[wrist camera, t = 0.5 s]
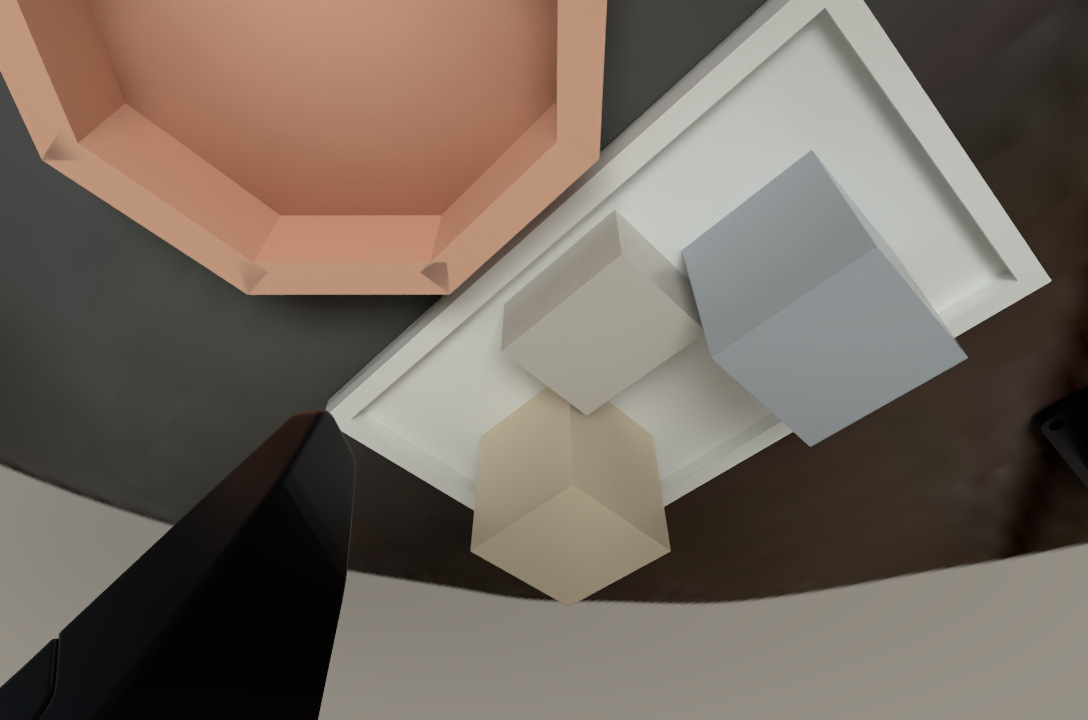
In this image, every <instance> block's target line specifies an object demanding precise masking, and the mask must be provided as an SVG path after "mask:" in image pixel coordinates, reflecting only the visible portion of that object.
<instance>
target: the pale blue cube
mask: <svg viewBox="0 0 1088 720" xmlns="http://www.w3.org/2000/svg"><path fill="white" fill-rule="evenodd" d="M682 253H683V256H684V260H685V264H686V267H687V271H688V275H689V278H690V282H691V286H692V289H693V293H694V297H695V300H696V304H697V307H698V311H699V315H700V318H701V322H702V326H703V329H704V333H705V337H706V340H707V344H708V348H709V351H710V355H711V358H712V359H713V360H714V361H715V362H716V363H717V364H719V365H720V366H721V367H722V368H723V369H724V370H725V371H726V372H727V373H729V374H730V375H731V376H732V377H733V378H734V379H735V380H736V381H737V382H739V383H740V384H741V385H742V386H743V387H744V388H745V389H746V390H748V391H749V392H750V393H751V394H752V395H753V396H754V397H755V398H756V399H758V400H759V401H760V402H761V403H762V404H763V405H764V406H765V407H766V408H768V409H769V410H770V411H771V412H772V413H773V414H774V415H775V416H776V417H778V418H779V419H780V420H781V421H782V422H783V423H784V424H785V425H786V426H788V427H789V428H790V429H791V430H792V431H793V432H794V433H795V434H796V435H798V436H799V437H800V438H801V439H802V440H803V441H804V442H805V443H806V444H808V445H809V446H810V447H811V446H813V445H814V444H816V443H818V442H820V441H822V440H823V439H825V438H827V437H829V436H830V435H832V434H834V433H836V432H838V431H839V430H841V429H843V428H845V427H846V426H848V425H850V424H852V423H853V422H855V421H857V420H859V419H861V418H862V417H864V416H866V415H868V414H869V413H871V412H873V411H875V410H877V409H878V408H880V407H882V406H884V405H885V404H887V403H889V402H891V401H892V400H894V399H896V398H898V397H900V396H901V395H903V394H905V393H907V392H908V391H910V390H912V389H914V388H916V387H917V386H919V385H921V384H923V383H924V382H926V381H928V380H930V379H931V378H933V377H935V376H937V375H939V374H940V373H942V372H944V371H946V370H947V369H949V368H951V367H953V366H955V365H956V364H958V363H960V362H962V361H963V360H965V359H967V358H968V357H967V355H966V354H965V352H964V351H963V349H962V348H961V347H960V345H959V344H958V342H957V341H956V339H955V338H954V337H953V335H952V334H951V332H950V331H949V329H948V328H947V327H946V325H945V324H944V322H943V321H942V319H941V318H940V317H939V315H938V314H937V312H936V311H935V309H934V308H933V307H932V305H931V304H930V302H929V301H928V299H927V298H926V297H925V295H924V294H923V292H922V291H921V289H920V288H919V287H918V285H917V284H916V282H915V281H914V279H913V278H912V276H911V275H910V274H909V272H908V271H907V269H906V268H905V266H904V265H903V264H902V262H901V261H900V259H899V258H898V256H897V255H896V254H895V252H894V251H893V249H892V248H891V247H890V246H889V244H888V243H887V242H886V241H885V239H884V238H883V237H882V236H881V235H880V233H879V232H878V231H877V230H876V228H875V227H874V226H873V225H872V223H871V222H870V221H869V220H868V218H867V217H866V216H865V215H864V214H863V212H862V211H861V210H860V209H859V207H858V206H857V205H856V204H855V202H854V201H853V200H852V199H851V197H850V196H849V195H848V194H847V193H846V191H845V190H844V189H843V188H842V186H841V185H840V184H839V183H838V181H837V180H836V179H835V178H834V176H833V175H832V174H831V173H830V172H829V170H828V169H827V168H826V167H825V165H824V164H823V163H822V162H821V160H820V159H819V158H818V157H817V155H816V154H815V153H814V152H813V151H812V150H810V151H809V152H808V153H807V154H805V155H804V156H803V157H801V158H800V159H799V160H797V161H796V162H795V163H794V164H792V165H791V166H790V167H788V168H787V169H786V170H785V171H783V172H782V173H781V174H779V175H778V176H777V177H776V178H774V179H773V180H772V181H770V182H769V183H768V184H767V185H765V186H764V187H763V188H761V189H760V190H759V191H758V192H756V193H755V194H754V195H752V196H751V197H750V198H748V199H747V200H746V201H745V202H743V203H742V204H741V205H739V206H738V207H737V208H736V209H734V210H733V211H732V212H730V213H729V214H728V215H727V216H725V217H724V218H723V219H721V220H720V221H719V222H718V223H716V224H715V225H714V226H712V227H711V228H710V229H708V230H707V231H706V232H705V233H703V234H702V235H701V236H699V237H698V238H697V239H696V240H694V241H693V242H692V243H690V244H689V245H688V246H687V247H685V248H684V249H683V250H682Z"/></svg>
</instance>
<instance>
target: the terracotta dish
mask: <svg viewBox="0 0 1088 720" xmlns="http://www.w3.org/2000/svg"><path fill="white" fill-rule="evenodd" d="M606 13H607V0H0V71H1V73H2V75H3V77H4V80H5V82H6V84H7V86H8V88H9V90H10V92H11V95H12V97H13V99H14V101H15V103H16V105H17V107H18V110H19V112H20V114H21V116H22V118H23V120H24V122H25V125H26V127H27V129H28V131H29V133H30V135H31V137H32V140H33V142H34V144H35V146H36V148H37V150H38V152H39V155H40V157H41V159H42V160H43V161H44V162H46V163H47V164H49V165H50V166H52V167H53V168H55V169H56V170H58V171H59V172H61V173H63V174H64V175H66V176H67V177H69V178H70V179H72V180H73V181H75V182H76V183H78V184H79V185H81V186H82V187H84V188H85V189H87V190H88V191H90V192H92V193H93V194H95V195H96V196H98V197H99V198H101V199H102V200H104V201H105V202H107V203H108V204H110V205H111V206H113V207H114V208H116V209H117V210H119V211H121V212H122V213H124V214H125V215H127V216H128V217H130V218H131V219H133V220H134V221H136V222H137V223H139V224H140V225H142V226H143V227H145V228H147V229H148V230H150V231H151V232H153V233H154V234H156V235H157V236H159V237H160V238H162V239H163V240H165V241H166V242H168V243H169V244H171V245H172V246H174V247H176V248H177V249H179V250H180V251H182V252H183V253H185V254H186V255H188V256H189V257H191V258H192V259H194V260H195V261H197V262H198V263H200V264H201V265H203V266H205V267H206V268H208V269H209V270H211V271H212V272H214V273H215V274H217V275H218V276H220V277H221V278H223V279H224V280H226V281H227V282H229V283H230V284H232V285H234V286H235V287H237V288H238V289H240V290H241V291H243V292H244V293H246V294H247V295H450V294H451V293H452V292H453V291H454V290H455V289H456V288H458V287H459V286H460V285H461V284H462V283H463V282H464V281H465V280H466V279H468V278H469V277H470V276H471V275H472V274H473V273H474V272H475V271H476V270H477V269H479V268H480V267H481V266H482V265H483V264H484V263H485V262H486V261H487V260H489V259H490V258H491V257H492V256H493V255H494V254H495V253H496V252H497V251H498V250H500V249H501V248H502V247H503V246H504V245H505V244H506V243H507V242H508V241H510V240H511V239H512V238H513V237H514V236H515V235H516V234H517V233H518V232H519V231H521V230H522V229H523V228H524V227H525V226H526V225H527V224H528V223H529V222H531V221H532V220H533V219H534V218H535V217H536V216H537V215H538V214H539V213H540V212H542V211H543V210H544V209H545V208H546V207H547V206H548V205H549V204H550V203H551V202H553V201H554V200H555V199H556V198H557V197H558V196H559V195H560V194H561V193H563V192H564V191H565V190H566V189H567V188H568V187H569V186H570V185H571V184H572V183H574V182H575V181H576V180H577V179H578V178H579V177H580V176H581V175H582V174H584V173H585V172H586V171H587V170H588V169H589V168H590V167H591V166H592V165H593V164H595V163H596V162H597V161H598V160H599V159H600V158H599V157H600V137H601V116H602V95H603V75H604V54H605V33H606Z"/></svg>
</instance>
